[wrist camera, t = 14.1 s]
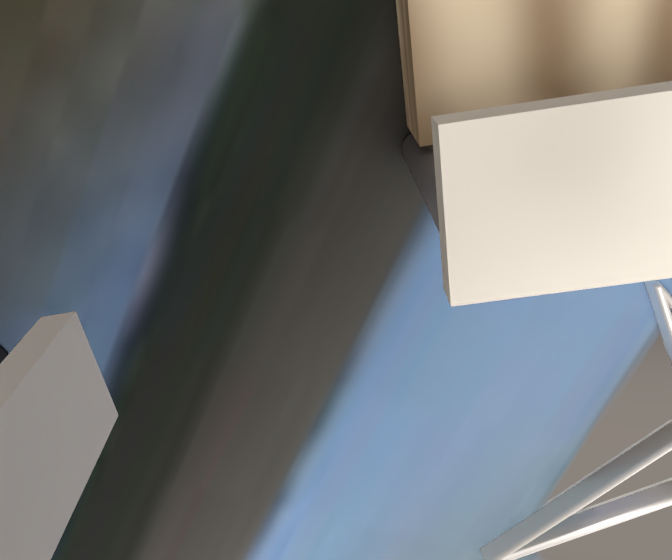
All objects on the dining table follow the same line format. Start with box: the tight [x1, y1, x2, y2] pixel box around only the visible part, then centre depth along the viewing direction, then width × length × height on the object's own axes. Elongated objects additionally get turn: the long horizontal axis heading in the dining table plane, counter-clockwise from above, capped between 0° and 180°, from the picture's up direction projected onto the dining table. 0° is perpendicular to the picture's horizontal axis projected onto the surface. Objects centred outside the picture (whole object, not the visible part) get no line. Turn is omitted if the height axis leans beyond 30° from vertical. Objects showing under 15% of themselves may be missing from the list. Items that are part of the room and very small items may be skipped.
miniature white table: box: [402, 81, 672, 306], centre depth 29 cm, size 16×6×20 cm, turn 98°
